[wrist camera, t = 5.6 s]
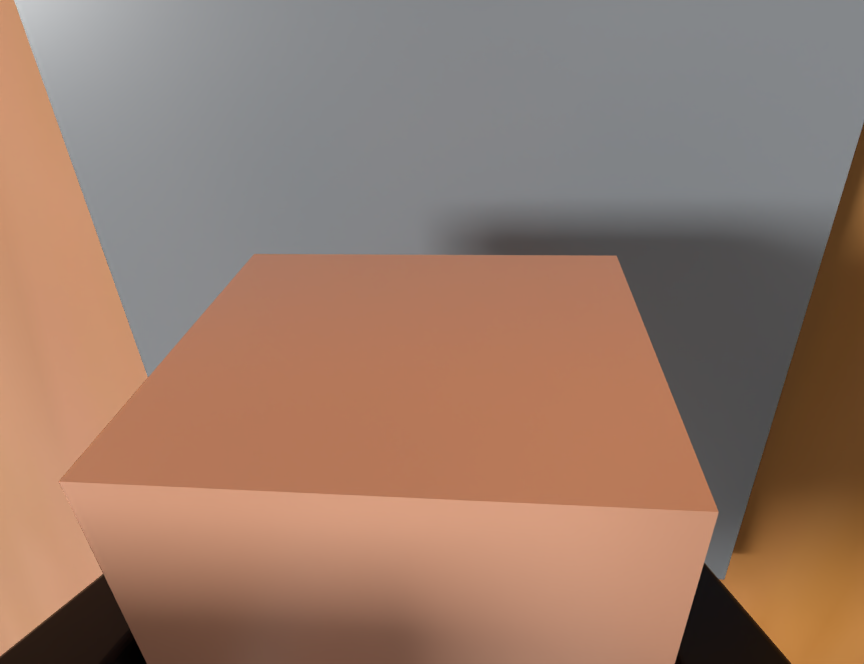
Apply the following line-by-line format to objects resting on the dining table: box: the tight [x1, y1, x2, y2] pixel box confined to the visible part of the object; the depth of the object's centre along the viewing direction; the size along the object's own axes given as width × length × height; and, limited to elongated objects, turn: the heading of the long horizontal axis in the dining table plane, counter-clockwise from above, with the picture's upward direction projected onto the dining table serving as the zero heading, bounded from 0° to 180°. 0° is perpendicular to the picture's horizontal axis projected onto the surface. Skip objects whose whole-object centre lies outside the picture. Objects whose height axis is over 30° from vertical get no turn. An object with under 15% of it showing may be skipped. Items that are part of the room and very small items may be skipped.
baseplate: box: [14, 0, 864, 579], centre depth 11 cm, size 12×12×1 cm
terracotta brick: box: [59, 254, 719, 664], centre depth 7 cm, size 6×4×4 cm
